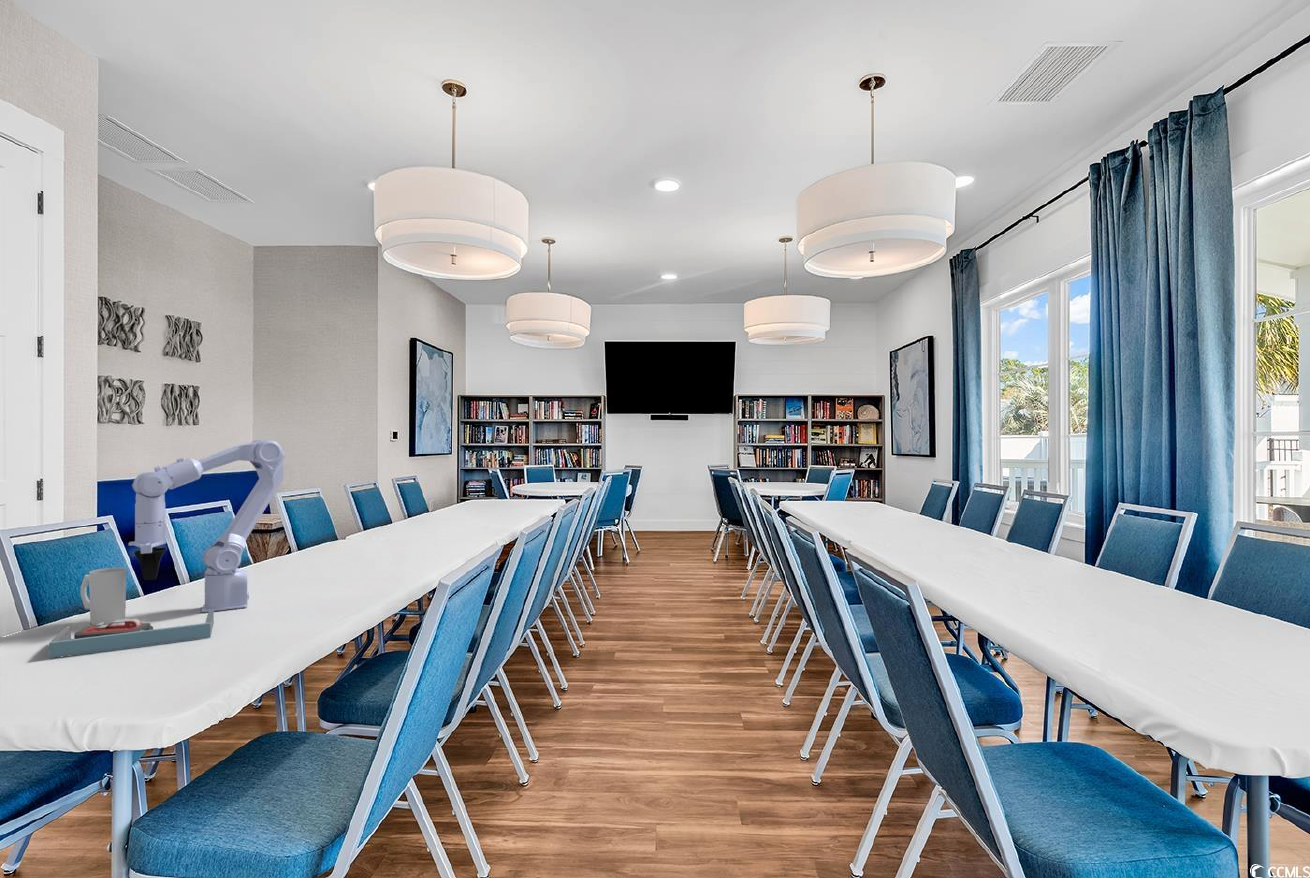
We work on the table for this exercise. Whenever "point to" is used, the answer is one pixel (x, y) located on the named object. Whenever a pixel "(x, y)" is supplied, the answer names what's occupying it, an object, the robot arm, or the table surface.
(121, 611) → the mug
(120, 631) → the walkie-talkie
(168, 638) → the tray
